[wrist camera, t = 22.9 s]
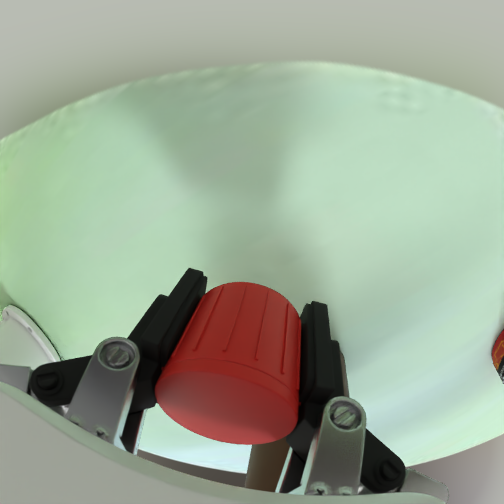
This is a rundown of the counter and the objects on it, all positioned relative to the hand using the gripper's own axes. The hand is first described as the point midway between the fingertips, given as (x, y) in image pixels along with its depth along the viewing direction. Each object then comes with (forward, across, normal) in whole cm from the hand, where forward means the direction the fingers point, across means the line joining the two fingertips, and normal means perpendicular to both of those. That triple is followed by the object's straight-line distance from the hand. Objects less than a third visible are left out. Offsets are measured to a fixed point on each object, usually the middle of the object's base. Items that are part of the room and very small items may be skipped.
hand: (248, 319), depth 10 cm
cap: (-1, 0, 0) cm, 1 cm away
